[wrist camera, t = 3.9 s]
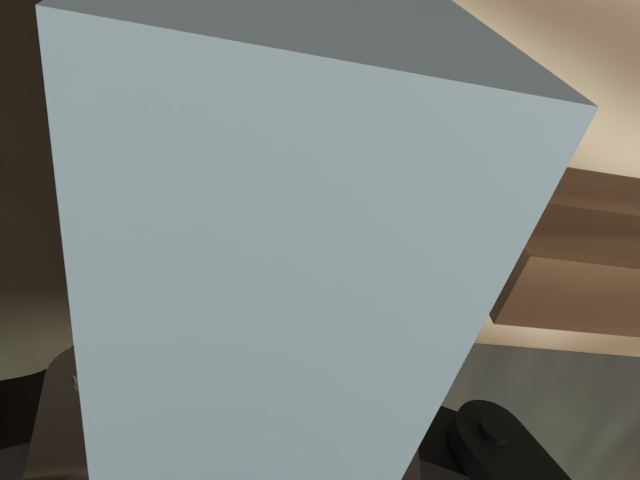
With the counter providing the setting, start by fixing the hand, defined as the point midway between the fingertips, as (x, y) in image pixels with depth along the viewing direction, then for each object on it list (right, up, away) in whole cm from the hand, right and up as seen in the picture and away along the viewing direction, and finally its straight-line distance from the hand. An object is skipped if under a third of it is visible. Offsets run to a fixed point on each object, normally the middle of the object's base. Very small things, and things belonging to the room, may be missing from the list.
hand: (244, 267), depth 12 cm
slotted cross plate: (0, +4, +5) cm, 6 cm away
